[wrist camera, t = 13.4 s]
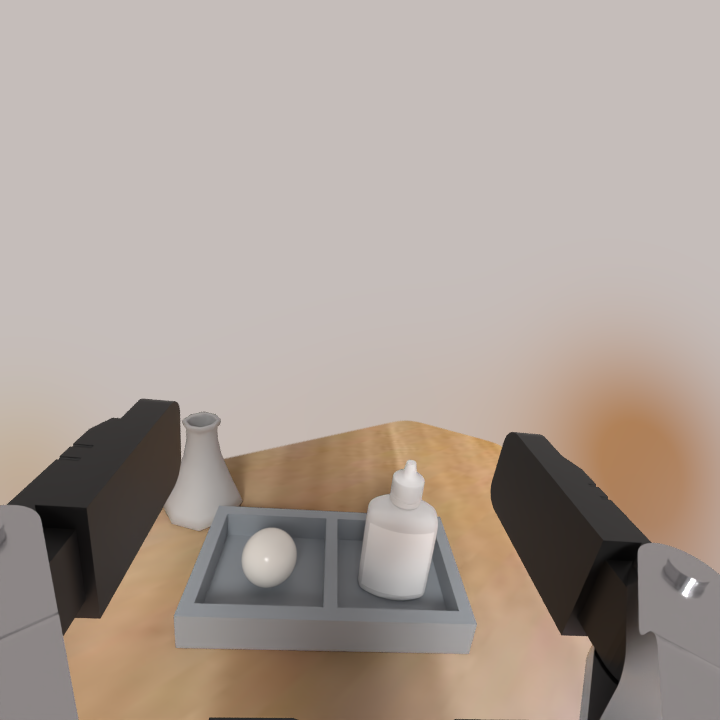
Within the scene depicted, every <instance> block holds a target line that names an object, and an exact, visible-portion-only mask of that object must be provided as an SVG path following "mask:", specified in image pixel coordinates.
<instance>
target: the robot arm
mask: <svg viewBox="0 0 720 720" xmlns="http://www.w3.org/2000/svg"><path fill="white" fill-rule="evenodd" d="M180 465H181V439H180V408H179V405H178V403H177V402H175V401H163V400H152V399H140V400H139V401H138V402H137V403H136V404H135V405H134V406H133V407H132V408H131V409H130V410H129V411H128V412H127V413H126V414H125V415H124V416H123V417H122V418H121V419H120V418H111V419H109V420H107V421H105V422H103V423H101V424H99V425H97V426H95V427H93V428H91V429H89V430H88V431H87V432H86V433H85V434H83V435H82V436H81V437H80V438H79V439H78V440H77V441H76V442H75V443H74V444H73V447H69V448H68V449H67V450H66V451H65V452H64V453H63V454H62V455H61V456H60V458H59V460H55V461H54V462H53V463H52V464H51V465H50V466H48V467H47V468H46V469H45V470H44V471H43V472H42V473H41V474H40V475H39V476H38V477H37V478H36V479H34V480H33V481H32V482H31V483H30V484H29V485H28V486H27V487H26V488H24V489H23V491H21V492H20V493H19V494H18V495H17V496H16V497H15V498H14V499H13V500H11V501H10V502H9V503H8V504H7V505H0V720H78V715H77V709H76V704H75V699H74V693H73V688H72V682H71V677H70V672H69V666H68V661H67V655H66V650H65V645H64V639H63V636H64V634H65V632H66V631H67V629H68V628H69V626H70V624H71V623H72V621H73V620H74V618H99V619H100V618H101V616H102V615H103V613H104V611H105V609H106V608H107V606H108V604H109V602H110V600H111V599H112V597H113V595H114V593H115V592H116V590H117V588H118V586H119V585H120V583H121V581H122V579H123V577H124V576H125V574H126V572H127V570H128V569H129V567H130V565H131V563H132V561H133V560H134V558H135V556H136V554H137V553H138V551H139V549H140V547H141V545H142V544H143V542H144V540H145V538H146V537H147V535H148V533H149V531H150V529H151V528H152V526H153V524H154V522H155V521H156V519H157V517H158V515H159V513H160V512H161V510H162V508H163V506H164V505H165V503H166V501H167V499H168V498H169V496H170V494H171V492H172V490H173V489H174V487H175V485H176V482H177V479H178V476H179V472H180ZM491 501H492V505H493V508H494V510H495V512H496V514H497V516H498V518H499V519H500V521H501V523H502V525H503V527H504V529H505V531H506V533H507V534H508V536H509V538H510V540H511V542H512V544H513V546H514V547H515V549H516V551H517V553H518V555H519V557H520V559H521V561H522V562H523V564H524V566H525V568H526V570H527V572H528V574H529V576H530V577H531V579H532V581H533V583H534V585H535V587H536V589H537V590H538V592H539V594H540V596H541V598H542V600H543V602H544V604H545V605H546V607H547V609H548V611H549V613H550V615H551V617H552V618H553V620H554V622H555V624H556V626H557V628H558V630H559V632H560V633H561V635H569V636H588V638H589V639H590V641H591V643H592V646H591V648H590V650H589V652H588V654H587V658H586V666H585V675H584V684H583V693H582V702H581V711H580V719H579V720H720V575H719V574H718V573H717V572H716V571H714V570H713V569H712V568H711V567H709V566H708V565H706V564H705V563H704V562H702V561H700V560H699V559H697V558H695V557H694V556H692V555H690V554H688V553H686V552H684V551H682V550H679V549H677V548H674V547H671V546H668V545H664V544H659V543H651V542H650V541H649V540H648V539H647V537H646V536H645V535H644V534H643V533H642V532H641V531H640V530H639V529H638V528H637V527H636V526H635V525H634V524H633V523H632V522H631V521H630V520H629V519H628V517H627V516H626V515H625V514H624V513H623V512H622V511H621V510H620V509H619V508H618V507H617V506H616V505H615V504H614V503H613V502H612V501H611V500H608V496H607V495H606V494H605V493H604V492H603V491H602V490H601V489H600V488H599V487H596V484H595V483H594V482H593V481H592V480H591V479H590V478H589V476H587V474H586V473H585V472H584V471H583V470H582V469H580V468H579V467H578V466H576V465H575V464H573V463H572V462H570V461H569V460H567V459H566V458H564V457H563V456H562V455H560V453H559V452H558V451H557V450H556V449H555V448H554V447H553V446H552V445H551V444H550V442H549V441H548V440H547V439H546V438H545V437H544V436H542V435H538V434H528V433H517V432H511V433H509V434H508V435H507V436H506V438H505V440H504V443H503V447H502V450H501V453H500V457H499V460H498V463H497V467H496V470H495V473H494V477H493V480H492V484H491ZM209 720H297V719H294V718H209ZM455 720H479V719H455Z"/></svg>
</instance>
